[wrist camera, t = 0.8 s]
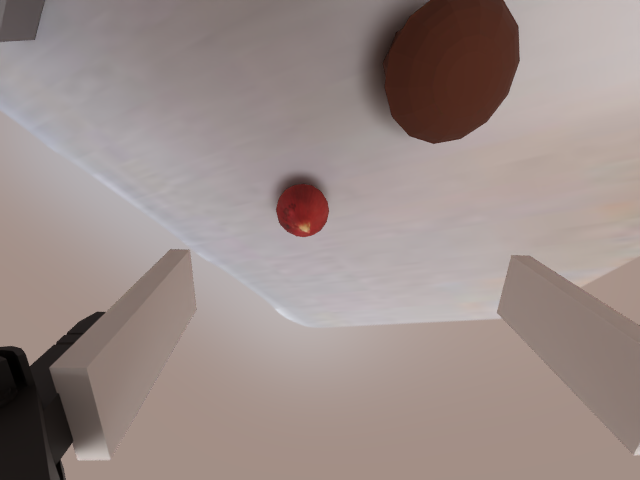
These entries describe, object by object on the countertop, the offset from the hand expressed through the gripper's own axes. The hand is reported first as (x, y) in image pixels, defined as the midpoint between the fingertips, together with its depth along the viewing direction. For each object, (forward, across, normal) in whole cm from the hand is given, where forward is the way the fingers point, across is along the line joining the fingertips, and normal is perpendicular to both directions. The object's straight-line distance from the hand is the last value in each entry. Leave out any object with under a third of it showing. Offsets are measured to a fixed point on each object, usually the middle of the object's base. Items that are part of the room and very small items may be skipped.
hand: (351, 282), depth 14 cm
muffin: (+25, +10, +12) cm, 29 cm away
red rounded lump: (+28, -2, -3) cm, 28 cm away
